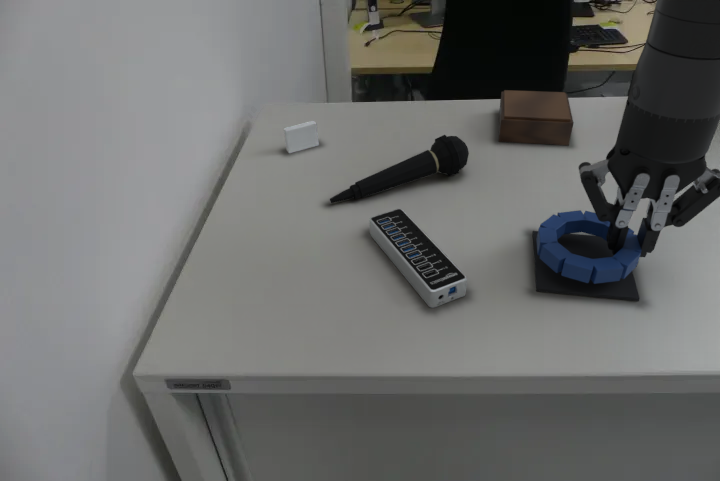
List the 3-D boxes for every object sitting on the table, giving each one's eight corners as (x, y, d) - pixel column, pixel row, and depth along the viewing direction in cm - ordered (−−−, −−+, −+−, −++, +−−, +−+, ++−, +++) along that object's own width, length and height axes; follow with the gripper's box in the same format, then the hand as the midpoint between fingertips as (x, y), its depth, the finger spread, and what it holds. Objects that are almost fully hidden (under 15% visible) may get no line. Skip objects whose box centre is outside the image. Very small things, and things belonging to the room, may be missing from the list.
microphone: (340, 229, 73) (473, 176, 77) (337, 203, 68) (479, 147, 72) (324, 199, 76) (453, 149, 80) (320, 172, 71) (457, 120, 75)
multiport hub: (400, 222, 69) (400, 207, 67) (467, 294, 58) (469, 278, 57) (368, 233, 68) (367, 217, 66) (430, 309, 57) (431, 292, 56)
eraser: (319, 145, 85) (316, 123, 83) (289, 153, 84) (285, 131, 82) (315, 141, 86) (313, 120, 84) (286, 150, 85) (282, 128, 82)
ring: (626, 226, 63) (630, 213, 62) (644, 288, 55) (649, 275, 54) (534, 219, 65) (537, 207, 64) (539, 279, 57) (542, 265, 56)
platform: (563, 114, 89) (567, 91, 87) (568, 145, 82) (574, 120, 79) (499, 112, 91) (501, 88, 89) (498, 141, 84) (501, 117, 81)
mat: (622, 240, 64) (623, 237, 64) (638, 301, 57) (639, 298, 56) (532, 233, 66) (532, 230, 66) (536, 291, 58) (536, 288, 58)
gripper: (749, 81, 50) (688, 235, 61) (587, 76, 52) (556, 225, 63) (781, 119, 44) (707, 281, 55) (597, 112, 47) (561, 268, 57)
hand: (626, 250), depth 59 cm, fingers closed on ring, 2 cm apart
